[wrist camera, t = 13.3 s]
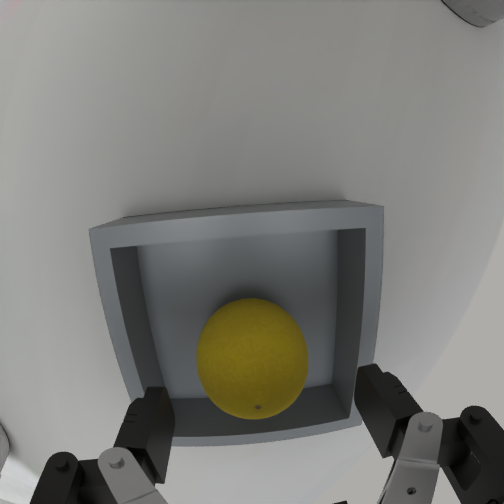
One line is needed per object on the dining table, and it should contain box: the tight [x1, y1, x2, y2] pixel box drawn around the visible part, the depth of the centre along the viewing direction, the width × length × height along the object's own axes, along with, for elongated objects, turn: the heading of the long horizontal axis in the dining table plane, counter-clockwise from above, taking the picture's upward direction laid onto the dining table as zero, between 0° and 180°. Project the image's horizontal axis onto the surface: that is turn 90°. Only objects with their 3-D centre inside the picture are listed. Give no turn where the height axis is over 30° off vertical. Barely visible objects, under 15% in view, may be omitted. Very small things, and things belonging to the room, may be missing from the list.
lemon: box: [196, 298, 308, 419], centre depth 14 cm, size 6×6×8 cm
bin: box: [89, 200, 384, 446], centre depth 17 cm, size 14×14×5 cm
